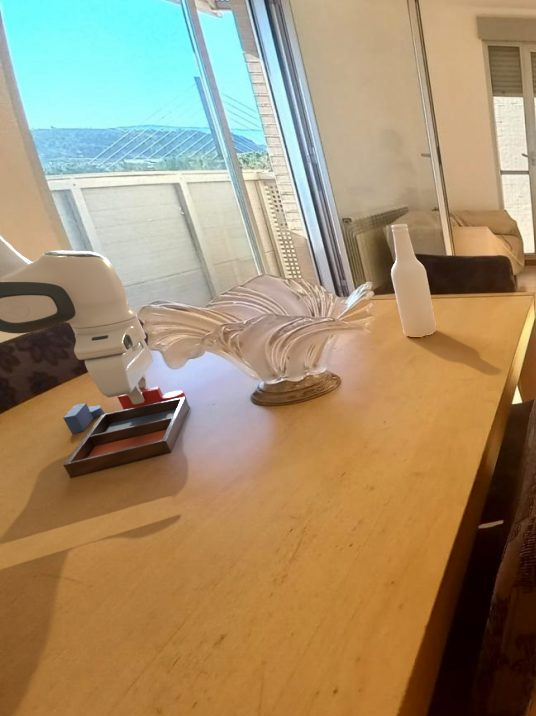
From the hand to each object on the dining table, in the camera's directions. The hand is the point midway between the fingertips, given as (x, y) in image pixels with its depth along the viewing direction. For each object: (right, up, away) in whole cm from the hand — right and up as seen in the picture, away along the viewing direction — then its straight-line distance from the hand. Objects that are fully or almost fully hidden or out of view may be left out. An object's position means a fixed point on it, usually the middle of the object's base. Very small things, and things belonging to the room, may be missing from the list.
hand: (141, 399), depth 96 cm
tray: (+10, -6, -11) cm, 16 cm away
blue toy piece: (-6, -4, -5) cm, 9 cm away
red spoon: (+1, -1, +1) cm, 2 cm away
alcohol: (+41, +15, +39) cm, 58 cm away
